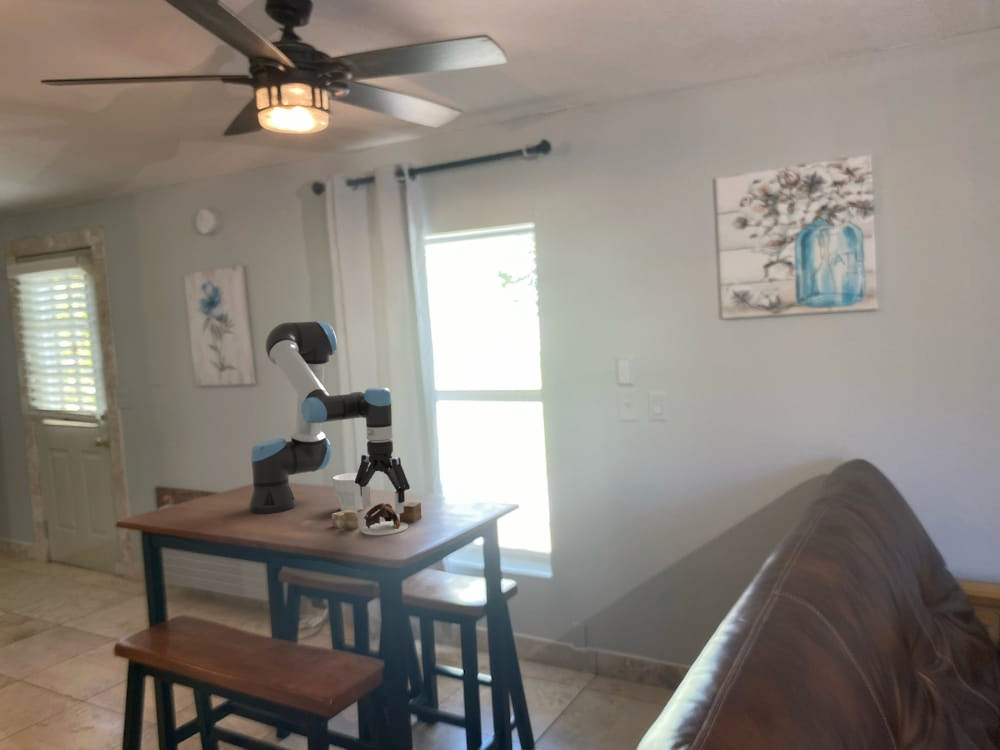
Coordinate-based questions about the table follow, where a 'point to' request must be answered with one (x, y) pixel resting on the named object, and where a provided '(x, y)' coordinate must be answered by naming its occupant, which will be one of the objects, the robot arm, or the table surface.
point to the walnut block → (411, 512)
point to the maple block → (339, 519)
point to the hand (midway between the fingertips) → (382, 510)
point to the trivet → (384, 528)
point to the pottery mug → (381, 515)
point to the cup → (348, 492)
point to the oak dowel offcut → (351, 520)
